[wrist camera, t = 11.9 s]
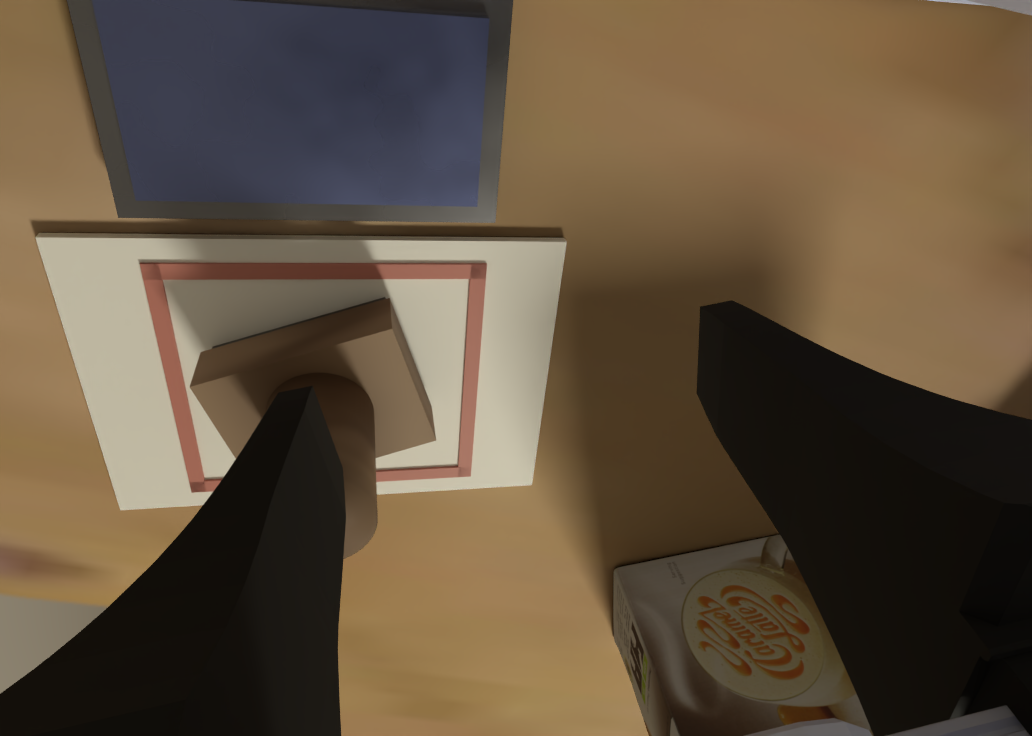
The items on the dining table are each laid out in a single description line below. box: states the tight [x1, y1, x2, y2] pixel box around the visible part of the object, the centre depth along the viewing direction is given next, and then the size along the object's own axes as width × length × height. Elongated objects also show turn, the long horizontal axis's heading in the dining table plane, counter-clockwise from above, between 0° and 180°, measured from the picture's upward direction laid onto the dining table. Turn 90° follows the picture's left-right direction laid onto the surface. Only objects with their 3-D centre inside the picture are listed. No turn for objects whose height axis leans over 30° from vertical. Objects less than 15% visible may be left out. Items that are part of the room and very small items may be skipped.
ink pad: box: [67, 0, 513, 223], centre depth 18 cm, size 10×6×2 cm, turn 85°
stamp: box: [190, 297, 436, 559], centre depth 21 cm, size 6×4×7 cm
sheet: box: [35, 233, 567, 510], centre depth 24 cm, size 15×10×1 cm
